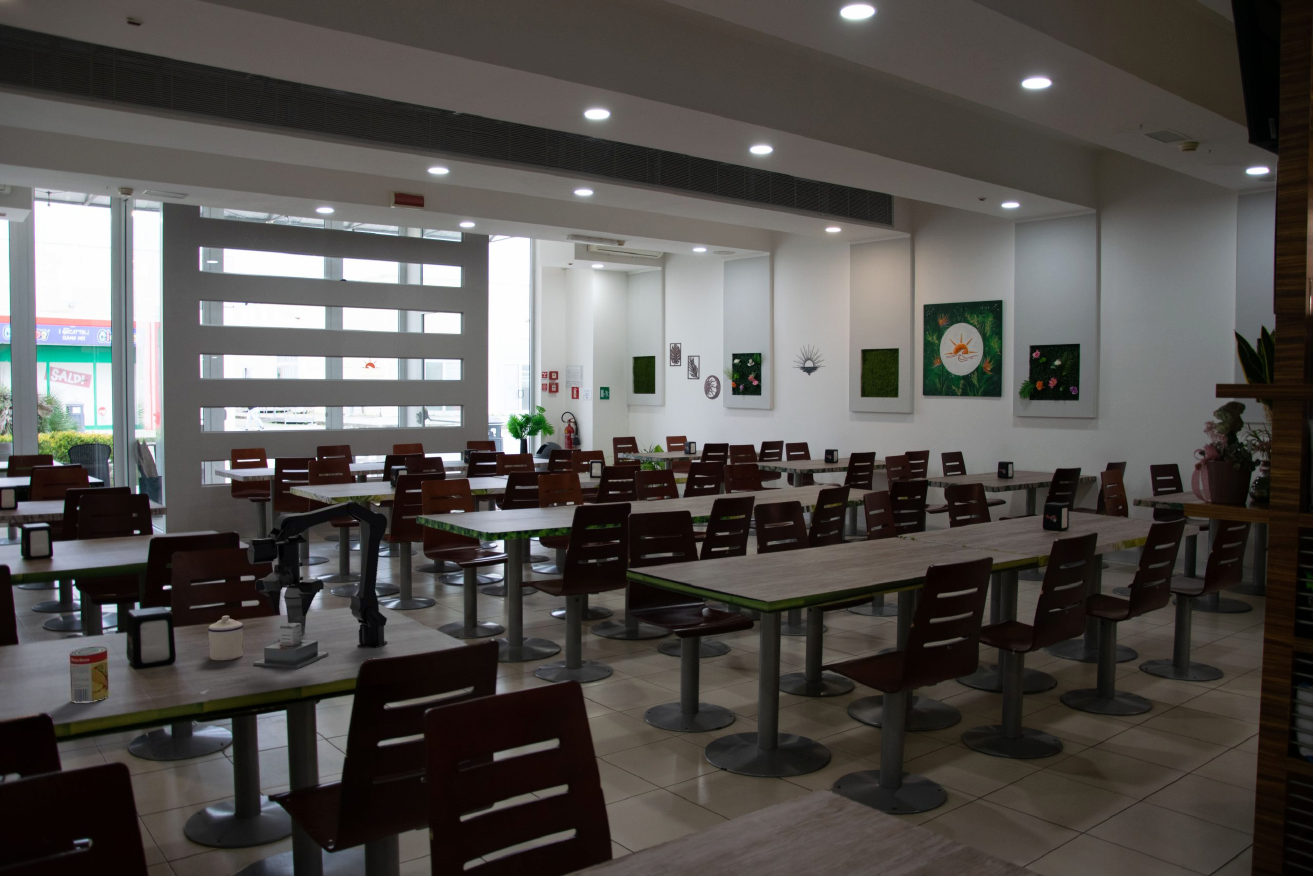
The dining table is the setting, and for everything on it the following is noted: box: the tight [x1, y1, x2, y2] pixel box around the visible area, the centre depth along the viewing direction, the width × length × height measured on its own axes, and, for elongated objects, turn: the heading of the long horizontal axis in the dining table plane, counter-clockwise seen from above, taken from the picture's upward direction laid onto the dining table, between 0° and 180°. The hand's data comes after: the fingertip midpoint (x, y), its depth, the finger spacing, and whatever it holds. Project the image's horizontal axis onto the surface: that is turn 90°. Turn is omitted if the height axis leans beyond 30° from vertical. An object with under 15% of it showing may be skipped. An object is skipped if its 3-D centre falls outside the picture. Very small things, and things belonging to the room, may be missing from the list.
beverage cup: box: [283, 588, 307, 634], centre depth 295 cm, size 7×7×20 cm
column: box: [279, 622, 303, 647], centre depth 263 cm, size 4×4×9 cm
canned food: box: [69, 645, 110, 702], centre depth 230 cm, size 8×8×12 cm
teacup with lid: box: [207, 615, 244, 662], centre depth 268 cm, size 12×9×12 cm
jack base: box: [252, 639, 329, 670], centre depth 263 cm, size 14×14×5 cm
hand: (290, 615), depth 263 cm, fingers open, 9 cm apart
